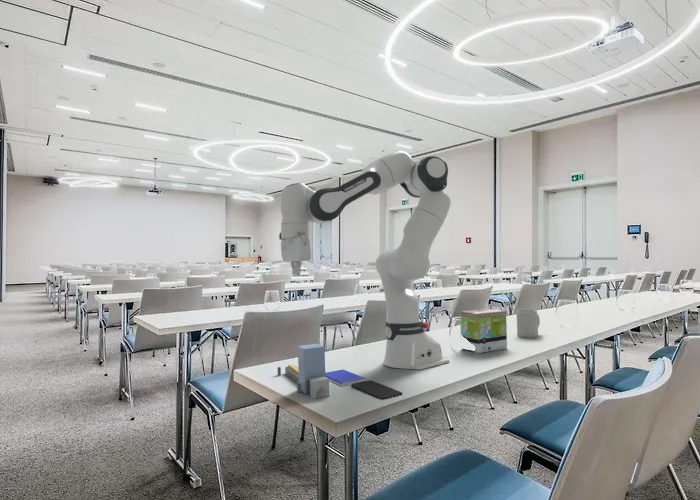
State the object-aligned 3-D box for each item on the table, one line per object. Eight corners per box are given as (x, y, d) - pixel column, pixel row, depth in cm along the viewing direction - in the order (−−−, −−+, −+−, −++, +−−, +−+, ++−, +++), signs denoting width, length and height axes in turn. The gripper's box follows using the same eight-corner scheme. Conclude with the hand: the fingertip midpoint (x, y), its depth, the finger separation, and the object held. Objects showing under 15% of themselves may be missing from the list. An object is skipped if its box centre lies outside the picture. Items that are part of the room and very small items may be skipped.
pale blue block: (319, 385, 117) (318, 343, 118) (325, 390, 113) (324, 346, 113) (299, 388, 115) (297, 345, 115) (304, 393, 110) (303, 349, 111)
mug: (529, 338, 176) (528, 312, 176) (513, 335, 184) (512, 310, 184) (547, 335, 182) (546, 310, 182) (530, 332, 189) (529, 308, 190)
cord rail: (302, 370, 135) (302, 357, 135) (336, 394, 109) (335, 377, 109) (277, 374, 131) (276, 360, 131) (306, 399, 106) (305, 382, 106)
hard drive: (365, 377, 121) (344, 368, 132) (341, 382, 117) (321, 373, 127) (365, 382, 121) (344, 373, 131) (341, 387, 117) (321, 378, 127)
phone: (381, 398, 104) (349, 384, 116) (382, 402, 104) (349, 387, 116) (404, 392, 108) (370, 379, 120) (404, 396, 108) (370, 382, 120)
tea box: (480, 354, 150) (479, 313, 151) (460, 349, 159) (458, 311, 159) (508, 348, 158) (506, 309, 158) (487, 344, 166) (486, 307, 167)
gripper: (315, 230, 127) (316, 275, 127) (295, 235, 146) (296, 274, 145) (295, 230, 125) (296, 276, 124) (277, 235, 143) (278, 275, 143)
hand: (296, 275), depth 135 cm, fingers closed
